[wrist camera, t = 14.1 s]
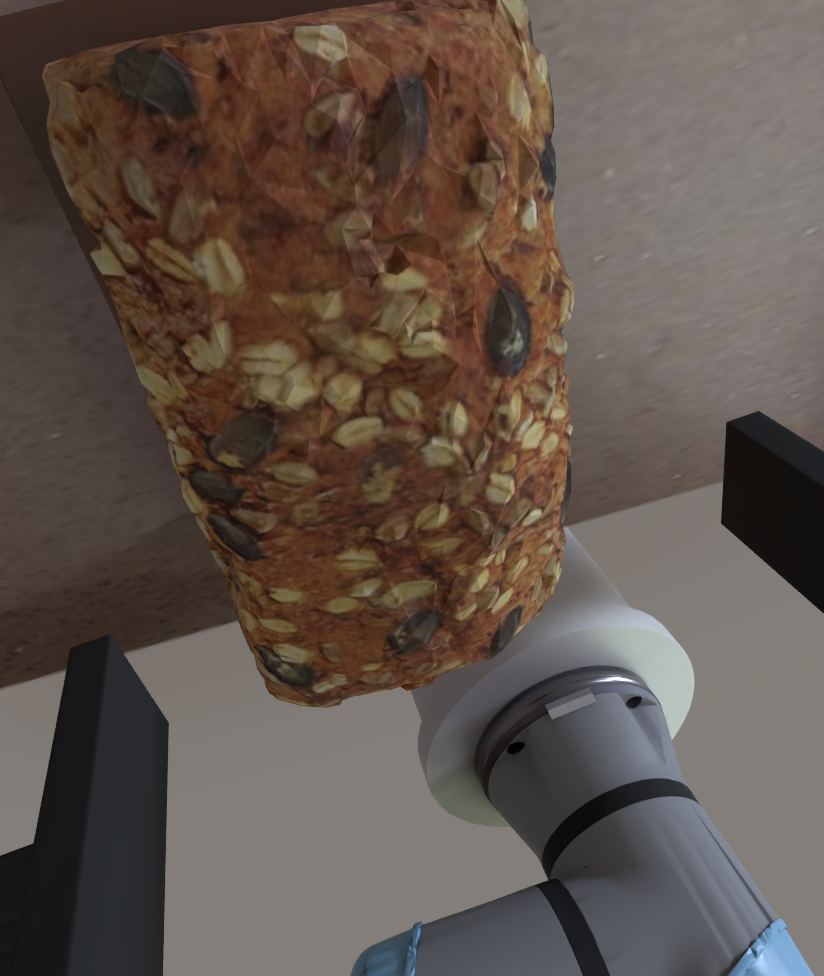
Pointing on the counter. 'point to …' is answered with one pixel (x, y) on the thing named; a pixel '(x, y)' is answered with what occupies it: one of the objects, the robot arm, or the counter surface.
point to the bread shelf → (97, 23)
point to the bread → (343, 319)
